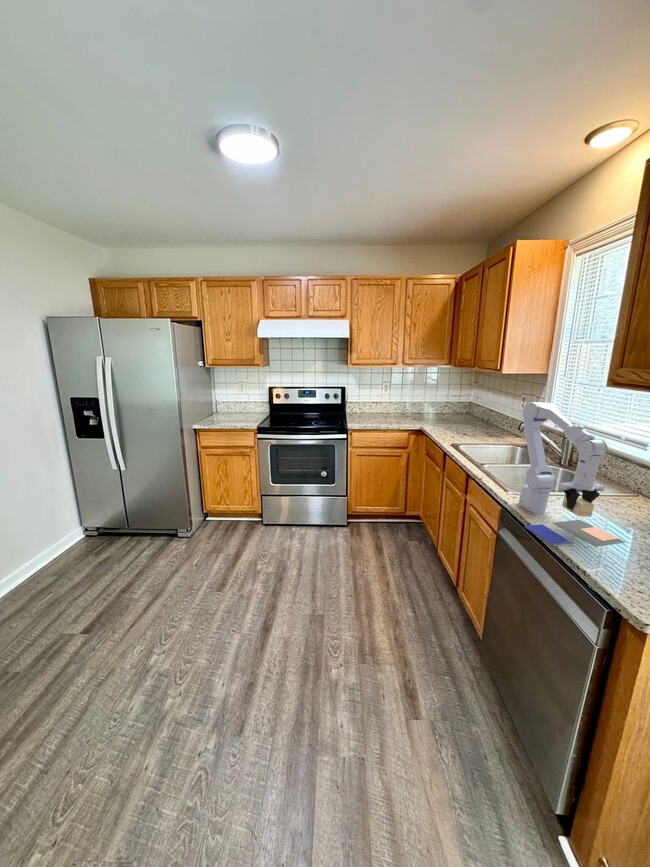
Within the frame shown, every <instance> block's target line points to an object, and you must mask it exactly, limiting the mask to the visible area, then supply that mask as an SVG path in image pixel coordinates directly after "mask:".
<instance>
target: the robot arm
mask: <svg viewBox="0 0 650 867" xmlns="http://www.w3.org/2000/svg"><path fill="white" fill-rule="evenodd" d="M521 411H522V416H523V422H522V423H523V425H522V426H523V431H524V437H525V441H526V442H525V443H526V446H527V448H526V449H527V453H528V458H529V464H530V467H529V468H528V469H526V472H525V474H526V477H525V483H526V485H524V486H522V488H521V490H520V493H519V494H520V495H519V499H518V502H516V505H518V506H520V507H521V508H524V509H525V510H527V511H529V512H531V513H533V514H534V515H537V514H538V515H539V514H541V515H542V514H548V513H552V511H550V510H549V509H547V505H548V500H549V497H550V493H551V492H552V489H554V488H556V487H557V484H558V479H557V477H556V476H555V474H554V470H553V469H552V468H551V467H550V466H549V465H548V464H547V459H546V455H545V454H546V452H545V447H544V444H543V438H542V432H541V428H540V427H541V426H542V425H543V424H544V423H545V422H547V421H550V422H551V423H553V424H554V425H556V426H557V427H558V428H560V429H561V430H562V431H563V435H564V437H565V438H566V439H567V440H568V441H570V442H571V443H573V445H574V446H576V450H577V453H578V456H577V457H578V461H577V464H576V467H575V468H576V469H575V473H574V476H573V480H572V481H568V482H560V486H559V488H560V489H561V490H563V492H564V495H566V500H567V507H568V508H569V509H571V510H573V508H574V506H575V503H576V500H577V499H578V497H581V498H583V499H584V500H586V501H588V502H590V503H592V504H593V501H595V500H596V498H599V497H600V495H601V493H600V492H604V491H605V485H603V484H598V483H595V480H596V477H597V474H598V470H599V466H600V463H601V458H602V456H603V455H605V454H607V452H608V447H609V446H608V444H607V443H606V442H605V440H604V439H601V438H596V437H595V436H594V435H593V434H591V433H589V431H587V430H586V429H585V426H583V425H579V424H573V423H571V421H570V420H569V419H568V418H566V417H565V416H564V415H563V414H562V413H561V412H560V411H559V410H558V407H557V406H556V405H554V404H553V403H552V402H532V401H531V402H528V403H526V404H525V406H524V407H523V409H522V410H521ZM579 490H580V491H581V493H580V492H578V491H579Z"/></svg>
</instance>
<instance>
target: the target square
mask: <svg viewBox="0 0 650 867" xmlns="http://www.w3.org/2000/svg"><path fill="white" fill-rule="evenodd" d="M580 530H582V531H583V532H585V533H587V534H589V535H591V536H593V537H595V538H597V539H599V540H601V541H610V540H617V539H620V538H619V537H617V536H615V535H613V534H611V533H609V532H608V531H605V530H603V529H601V528H599V527H597V526H594V527H592V528H583V529H580Z"/></svg>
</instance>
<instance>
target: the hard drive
mask: <svg viewBox="0 0 650 867" xmlns="http://www.w3.org/2000/svg"><path fill="white" fill-rule="evenodd" d="M524 528H525V529H527V530H528V531H530V532H531V533H533V534H534V535H536V536H537V537H538V538H540V539H541V540H543V541H545V542H546V543H547V544H548V545H550V546H553V547H557V546H571V544H575V543H574V542H572V541H570V540H569V539H567V538H566V537H564V536H562V535H561V534H559V533H557V532H556V531H555V530H553V529H551V528H549V526H548V527H547V525H544V524H529V525H528V524H526V525H524Z"/></svg>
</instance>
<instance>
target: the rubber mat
mask: <svg viewBox="0 0 650 867" xmlns="http://www.w3.org/2000/svg"><path fill="white" fill-rule="evenodd" d="M552 524H554V526H557V527H558V528H561V529H563V530H564V531H566V532H568V533H569V534H572V535H574V536H575V537H576V538H579V539H580V540H583V542H585V543H588V544H590V545H592V546H594V547H603V546H611V545H617V544H623V543H624V544H625V543H626V541H624V540H622V539H620V538H619V539H617V540H610V541H601V540H599V539H597V538H595V537H593V536H591V535H589V534H587V533H585V532H583V531H582V530H580V529H583V528H592V527H595V526H593V525H592V524H590V523H587V522H585V521H584V520H581V519H574V520H566V521H564V520H563V521H556V522H552Z"/></svg>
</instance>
